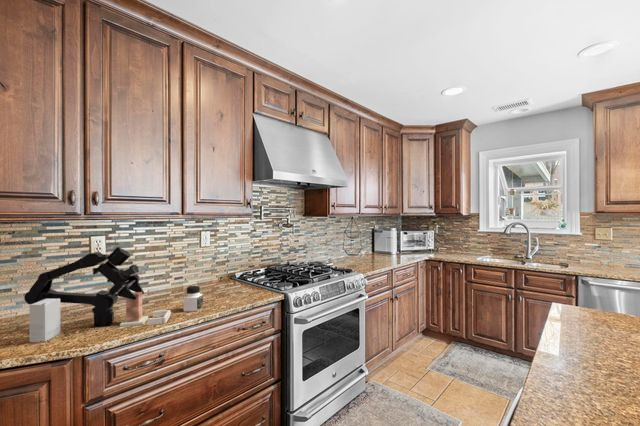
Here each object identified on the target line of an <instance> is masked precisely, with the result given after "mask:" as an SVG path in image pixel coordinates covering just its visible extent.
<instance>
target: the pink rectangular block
mask: <svg viewBox="0 0 640 426" xmlns="http://www.w3.org/2000/svg"><path fill="white" fill-rule="evenodd" d="M131 292H132V293H133V294H134V295H135V296H136V299H135V300H133V299H129V298H125V319H126V322H137V321H140V320H141V319H142V316H143V295H142V292H134V291H131Z"/></svg>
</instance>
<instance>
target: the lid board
mask: <svg viewBox="0 0 640 426" xmlns="http://www.w3.org/2000/svg"><path fill="white" fill-rule="evenodd" d="M147 319H149V315H142V319H141V320H140V321H137V322H126V318H124V320H122V321H121V323H119V327H120V328H123V327H130V326H142V325H144V324H145V323H146V322H147Z"/></svg>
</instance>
